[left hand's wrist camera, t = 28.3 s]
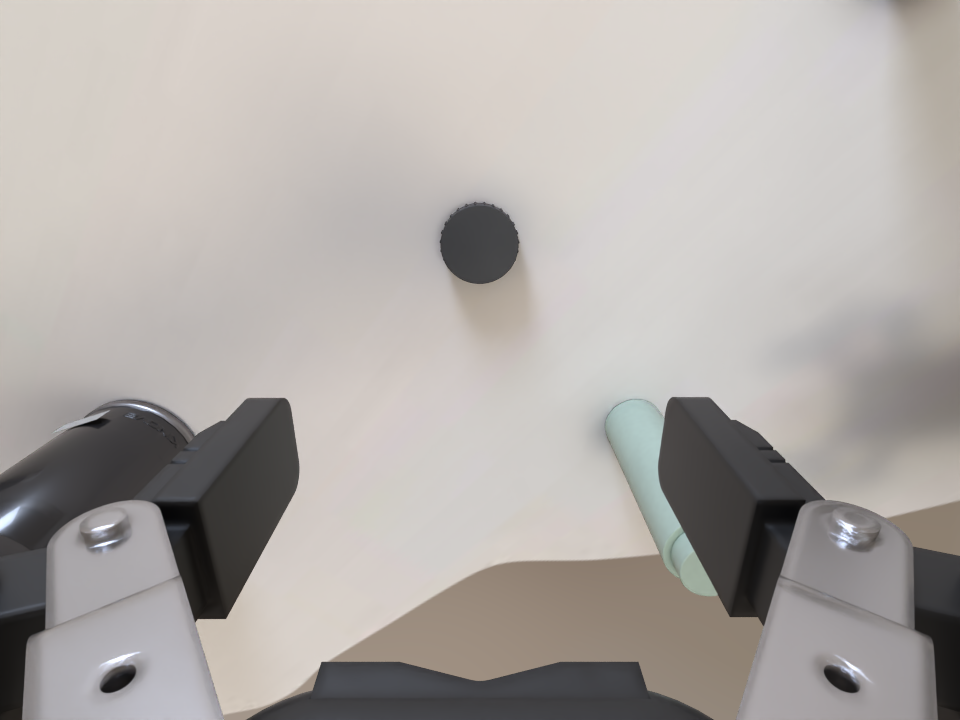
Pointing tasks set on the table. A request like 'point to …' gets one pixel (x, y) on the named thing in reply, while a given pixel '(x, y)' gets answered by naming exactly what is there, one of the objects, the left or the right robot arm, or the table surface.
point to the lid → (479, 243)
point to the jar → (653, 488)
